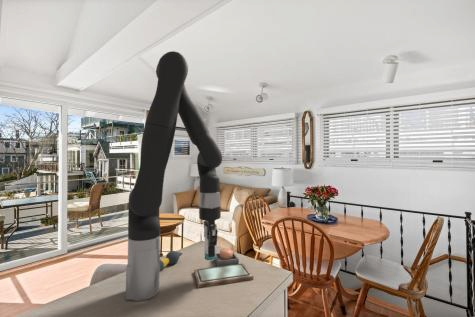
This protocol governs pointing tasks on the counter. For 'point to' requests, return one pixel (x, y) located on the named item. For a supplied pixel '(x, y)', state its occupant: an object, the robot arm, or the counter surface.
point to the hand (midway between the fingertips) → (210, 253)
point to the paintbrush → (170, 259)
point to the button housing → (226, 262)
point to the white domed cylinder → (207, 250)
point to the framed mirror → (222, 275)
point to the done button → (226, 254)
